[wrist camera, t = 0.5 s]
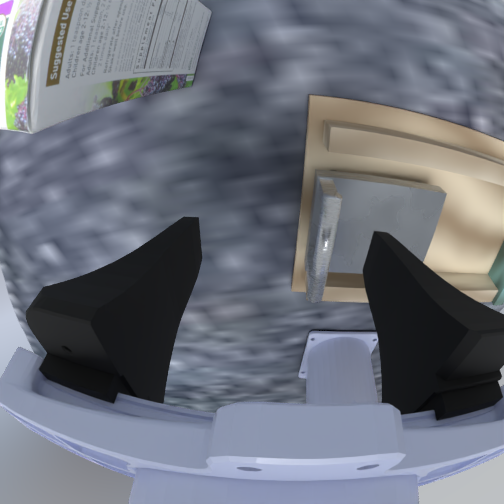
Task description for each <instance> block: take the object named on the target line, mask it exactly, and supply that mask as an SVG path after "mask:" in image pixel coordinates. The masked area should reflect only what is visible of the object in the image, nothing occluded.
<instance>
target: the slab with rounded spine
mask: <svg viewBox="0 0 504 504" xmlns="http://www.w3.org/2000/svg"><path fill="white" fill-rule="evenodd" d="M446 195H447V193H446V192H445V191H444V190H443V189H442V188H441V187H440V186H436V185H430V184H425V183H422V182H419V181H415V182H413V181H407V180H401V179H394V178H387V177H380V176H373V175H365V174H357V173H348V172H338V171H336V170H317V169H315V177H314V187H313V196H312V204H311V213H310V221H309V229H308V236H307V244H306V251H305V258H304V264H305V271H307V281H308V293H307V299H308V300H309V301H311V302H313V303H318V302H320V301H321V300H322V297H323V293H324V289H325V284H326V280H327V275H328V272H337V273H357V274H363V266H364V263H365V260H366V257H367V253H368V250H369V246H370V243H371V239H372V236H373V232H374V231H381V232H388V233H389V234H390V235H392V236H393V237H394V238H396V239H397V240H398V241H399V242H400V243H401V244H403V245H404V246H405V247H406V248H407V249H408V250H409V251H411V252H412V253H413V254H414V255H415V256H416V257H417V258H418V259H420V260H421V261H422V262H424V259H425V257H426V254H427V252H428V249H429V246H430V244H431V241H432V238H433V235H434V233H435V230H436V227H437V224H438V221H439V218H440V215H441V212H442V208H443V205H444V202H445V199H446Z"/></svg>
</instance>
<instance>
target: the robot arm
mask: <svg viewBox="0 0 504 504" xmlns="http://www.w3.org/2000/svg"><path fill="white" fill-rule="evenodd" d="M201 261H202V251H201V240H200V229H199V217H183V218H181V219H180V220H178V221H177V222H175V223H174V224H173V225H171V226H170V227H168V228H167V229H166V230H164V231H163V232H161V233H160V234H158V235H157V236H156V237H154V238H153V239H151V240H150V241H148V242H147V243H145V244H144V245H142V246H141V247H139V248H138V249H136V250H134V251H133V252H131V253H129V254H128V255H126V256H124V257H122V258H120V259H119V260H117V261H115V262H113V263H111V264H108V265H106V266H104V267H102V268H100V269H97V270H95V271H93V272H90V273H88V274H85V275H83V276H80V277H77V278H74V279H71V280H68V281H64V282H61V283H57V284H53V285H50V286H45V287H43V288H42V290H41V291H40V292H39V294H38V295H37V297H36V298H35V299H34V301H33V302H32V304H31V305H30V306H29V308H28V309H27V311H26V320H27V323H28V325H29V327H30V329H31V330H32V332H33V334H34V335H35V336H36V338H37V339H38V341H39V342H40V344H41V345H42V346H43V348H44V349H45V350H46V352H47V355H46V357H45V359H43V358H41V357H40V356H39V355H37V354H35V353H33V352H30V351H28V350H26V349H23V348H21V347H18V348H17V350H16V352H15V353H14V355H13V357H12V359H11V360H10V362H9V364H8V366H7V367H6V369H5V371H4V373H3V375H2V377H1V378H0V406H1V407H2V408H3V409H4V410H6V411H7V412H8V413H9V414H11V415H12V416H13V417H14V418H15V419H17V420H18V421H19V422H21V423H22V424H23V425H25V426H26V427H27V428H29V429H30V430H32V431H34V432H35V433H37V434H39V435H41V436H42V437H44V438H46V439H48V440H50V441H51V442H53V443H55V444H57V445H59V446H61V447H63V448H65V449H66V450H69V451H71V452H72V453H74V454H77V455H79V456H81V457H83V458H85V459H87V460H89V461H92V462H94V463H96V464H99V465H101V466H103V467H106V468H108V469H111V470H113V471H116V472H118V473H121V474H124V475H126V476H129V477H132V478H134V482H133V486H132V490H131V494H130V498H129V502H128V504H419V496H418V486H422V485H425V484H428V483H432V482H435V481H438V480H441V479H444V478H446V477H449V476H452V475H455V474H458V473H460V472H463V471H465V470H468V469H470V468H472V467H475V466H477V465H480V464H482V463H484V462H487V461H489V460H491V459H493V458H495V457H497V456H499V455H501V454H503V453H504V385H503V386H501V387H500V386H499V383H498V380H500V379H501V377H502V375H501V373H500V369H501V368H502V366H503V365H504V314H502V313H499V312H497V311H495V310H493V309H491V308H489V307H487V306H485V305H483V304H481V303H479V302H478V301H476V300H474V299H472V298H471V297H469V296H468V295H466V294H464V293H463V292H461V291H460V290H458V289H457V288H455V287H454V286H452V285H451V284H450V283H448V282H447V281H445V280H444V279H443V278H441V277H440V276H439V275H437V274H436V273H435V272H434V271H433V270H431V269H430V268H429V267H428V266H427V265H425V264H424V263H423V262H422V261H421V260H420V259H418V258H417V257H416V256H415V255H414V254H413V253H412V252H411V251H409V250H408V249H407V248H406V247H405V246H404V245H403V244H401V243H400V242H399V241H398V240H397V239H396V238H394V237H393V236H392V235H390V234H389V233H388V232H381V231H374V232H373V236H372V239H371V243H370V246H369V250H368V253H367V257H366V260H365V263H364V266H363V278H364V284H365V290H366V294H367V298H368V301H369V305H370V309H371V312H372V316H373V320H374V324H375V327H376V331H377V332H335V331H311V332H310V333H309V335H308V339H307V343H306V347H305V351H304V355H303V359H302V363H301V366H300V370H299V374H298V377H299V378H306V404H299V403H277V402H236V403H233V404H229V405H226V406H222V407H221V408H219V409H218V410H217V411H216V413H211V412H204V411H198V410H192V409H186V408H181V407H176V406H171V405H166V404H163V402H164V395H165V387H166V382H167V376H168V370H169V365H170V360H171V356H172V351H173V346H174V342H175V338H176V334H177V330H178V327H179V324H180V321H181V318H182V315H183V313H184V310H185V308H186V305H187V303H188V300H189V298H190V295H191V293H192V290H193V288H194V285H195V282H196V280H197V277H198V273H199V269H200V265H201ZM378 341H379V350H380V359H381V373H382V403H378V399H377V392H376V386H375V380H374V374H373V368H372V362H371V357H370V355H371V353H372V351H373V349H374V348H375V346H376V344H377V342H378Z"/></svg>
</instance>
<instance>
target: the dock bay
mask: <svg viewBox="0 0 504 504" xmlns="http://www.w3.org/2000/svg"><path fill="white" fill-rule="evenodd" d="M315 169H317V170H336V171H338V172H348V173H357V174H365V175H373V176H380V177H387V178H394V179H401V180H407V181H413V182H415V181H419V182H422V183H425V184H430V185H436V186H440V187H441V188H442V189H443V190H444V191H445V192H446V193H447V195H446V199H445V202H444V205H443V208H442V212H441V215H440V218H439V221H438V224H437V227H436V230H435V233H434V235H433V238H432V241H431V244H430V246H429V249H428V252H427V254H426V257H425V259H424V262H423V263H424V264H425V265H427V266H428V267H429V268H430V269H431V270H433V271H434V272H435V273H436V274H437V275H439V276H440V277H441V278H443V279H444V280H445V281H447V282H448V283H450V284H451V285H452V286H454V287H455V288H457V289H458V290H460V291H461V292H463V293H464V294H466V295H468V296H469V297H471V298H472V299H474V300H476V301H478V302H492V303H493V305H502V304H503V303H504V141H502V140H499V139H497V138H494V137H492V136H489V135H487V134H484V133H482V132H479V131H476V130H473V129H470V128H468V127H465V126H462V125H459V124H456V123H452V122H449V121H446V120H443V119H439V118H436V117H432V116H428V115H425V114H421V113H417V112H413V111H409V110H405V109H400V108H396V107H391V106H386V105H381V104H376V103H370V102H365V101H359V100H352V99H345V98H338V97H330V96H321V95H311V94H309V102H308V119H307V134H306V148H305V161H304V173H303V184H302V195H301V206H300V216H299V225H298V234H297V243H296V252H295V261H294V269H293V277H292V285H291V289H292V291H294V292H306V300H308V299H307V293H308V281H307V271H305V264H304V258H305V251H306V244H307V236H308V229H309V221H310V213H311V204H312V196H313V187H314V177H315ZM321 301H336V302H369V301H368V298H367V294H366V290H365V284H364V278H363V274H357V273H337V272H328V275H327V280H326V284H325V289H324V293H323V297H322V300H321Z"/></svg>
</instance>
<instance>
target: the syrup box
mask: <svg viewBox="0 0 504 504" xmlns="http://www.w3.org/2000/svg"><path fill="white" fill-rule="evenodd" d="M211 13H212V12H211V10H209V9H208V8H207V7H206V6H204V5H203V4H202V3H201V2H199V1H198V0H0V129H4V130H12V131H21V132H26V133H31V134H33V133H36V132H38V131H41V130H43V129H46V128H48V127H51V126H53V125H55V124H58V123H60V122H63V121H66V120H68V119H71V118H74V117H76V116H79V115H82V114H84V113H88V112H91V111H94V110H97V109H100V108H103V107H106V106H110V105H113V104H117V103H120V102H124V101H128V100H132V99H135V98H139V97H143V96H148V95H152V94H156V93H160V92H165V91H170V90H175V89H180V88H186V87H191V86H192V82H193V79H194V74H195V70H196V66H197V62H198V58H199V54H200V51H201V47H202V43H203V40H204V36H205V33H206V30H207V26H208V23H209V20H210V17H211Z"/></svg>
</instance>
